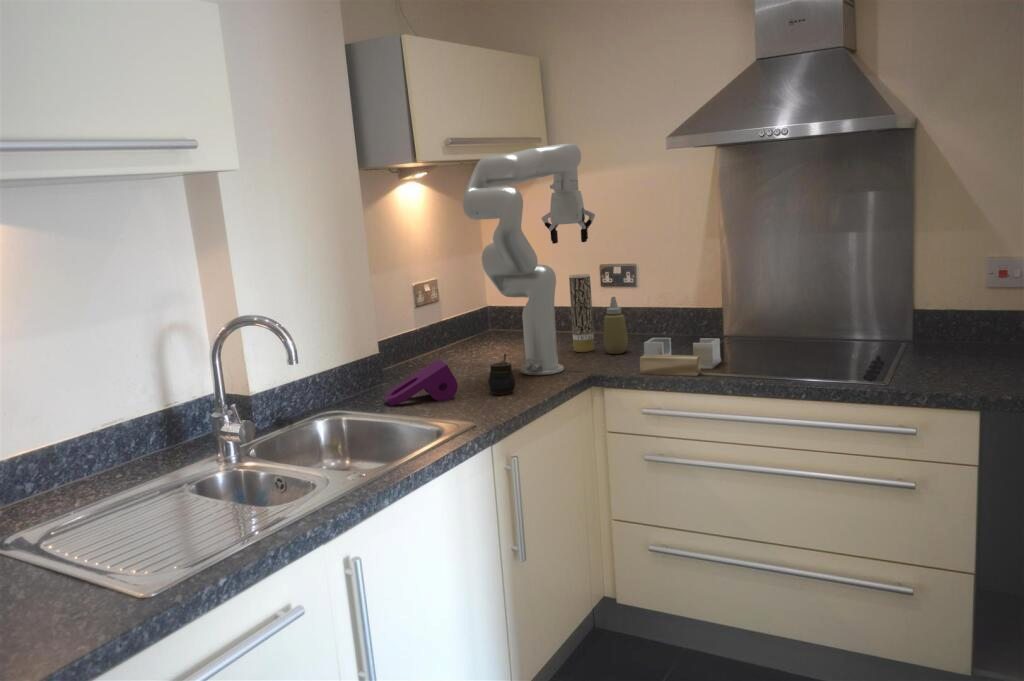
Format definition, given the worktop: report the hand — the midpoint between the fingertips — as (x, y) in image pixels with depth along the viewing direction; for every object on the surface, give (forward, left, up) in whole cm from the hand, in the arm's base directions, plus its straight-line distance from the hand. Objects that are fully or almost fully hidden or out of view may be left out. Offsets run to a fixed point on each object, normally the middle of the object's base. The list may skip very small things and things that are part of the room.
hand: (569, 242), depth 264 cm
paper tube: (+9, +1, -36) cm, 37 cm away
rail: (-20, -37, -36) cm, 56 cm away
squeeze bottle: (+7, -11, -36) cm, 39 cm away
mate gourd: (-50, 0, -36) cm, 62 cm away
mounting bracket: (-61, +19, -37) cm, 74 cm away
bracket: (-8, -37, -36) cm, 52 cm away
